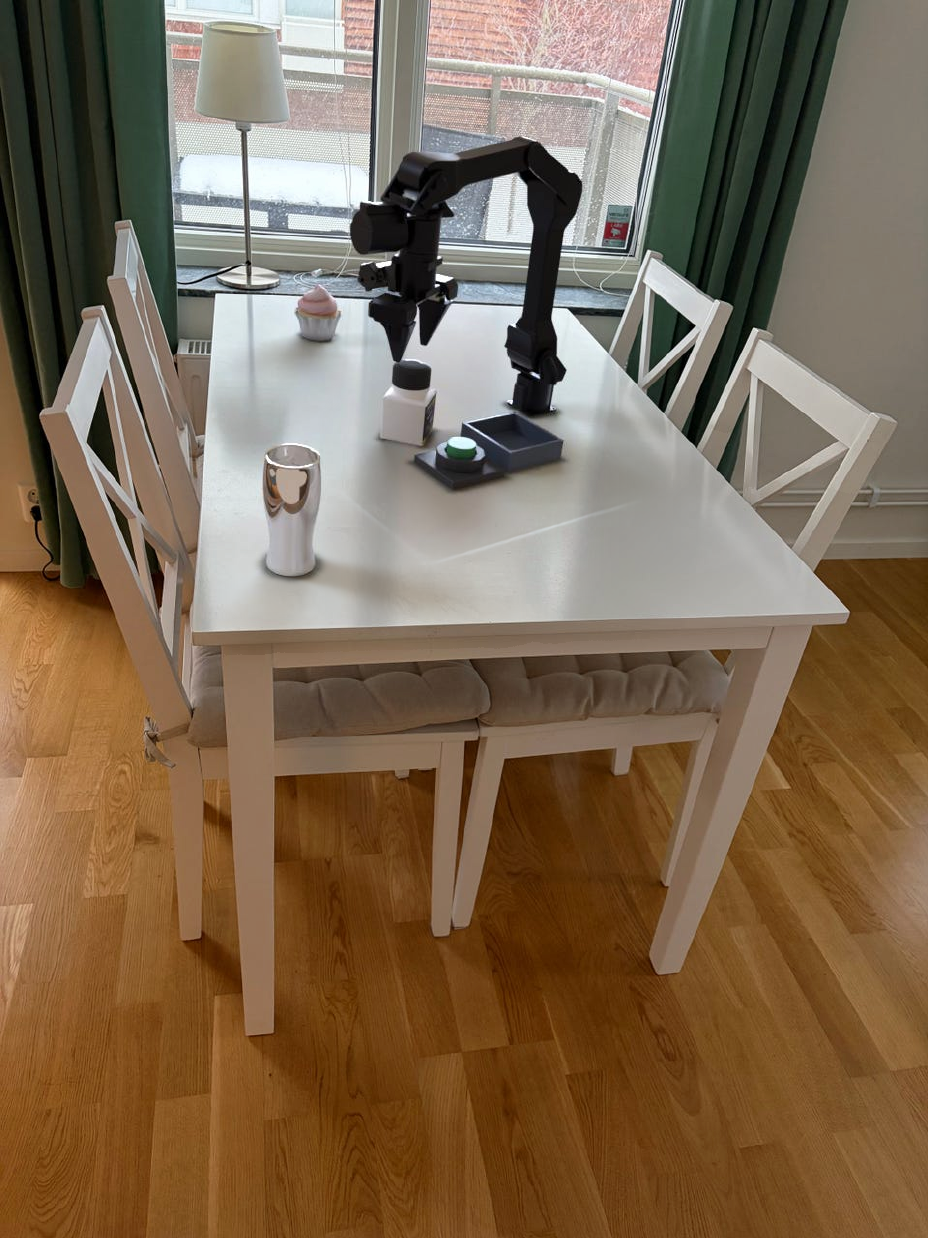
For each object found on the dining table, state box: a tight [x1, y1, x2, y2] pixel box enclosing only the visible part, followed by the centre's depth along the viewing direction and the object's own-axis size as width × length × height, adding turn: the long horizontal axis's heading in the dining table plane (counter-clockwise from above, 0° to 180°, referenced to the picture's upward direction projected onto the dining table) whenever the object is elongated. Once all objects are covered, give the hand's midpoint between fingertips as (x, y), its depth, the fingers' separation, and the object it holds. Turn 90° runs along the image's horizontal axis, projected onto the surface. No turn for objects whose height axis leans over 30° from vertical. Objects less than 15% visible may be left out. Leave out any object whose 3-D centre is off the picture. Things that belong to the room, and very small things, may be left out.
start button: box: [446, 436, 476, 459], centre depth 151 cm, size 4×4×2 cm
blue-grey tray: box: [460, 411, 565, 474], centre depth 160 cm, size 11×12×3 cm
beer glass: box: [261, 443, 322, 577], centre depth 121 cm, size 7×7×15 cm
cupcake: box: [293, 283, 342, 342], centre depth 192 cm, size 9×9×10 cm
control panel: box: [413, 441, 506, 491], centre depth 152 cm, size 10×10×3 cm
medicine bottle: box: [379, 358, 437, 447], centre depth 158 cm, size 7×7×12 cm
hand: (410, 353), depth 153 cm, fingers open, 9 cm apart
